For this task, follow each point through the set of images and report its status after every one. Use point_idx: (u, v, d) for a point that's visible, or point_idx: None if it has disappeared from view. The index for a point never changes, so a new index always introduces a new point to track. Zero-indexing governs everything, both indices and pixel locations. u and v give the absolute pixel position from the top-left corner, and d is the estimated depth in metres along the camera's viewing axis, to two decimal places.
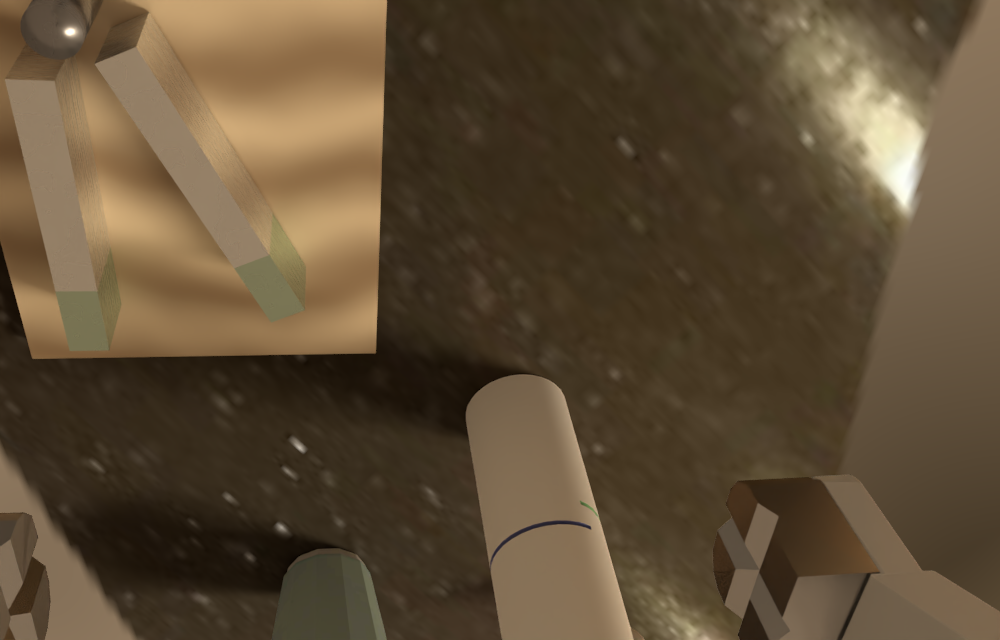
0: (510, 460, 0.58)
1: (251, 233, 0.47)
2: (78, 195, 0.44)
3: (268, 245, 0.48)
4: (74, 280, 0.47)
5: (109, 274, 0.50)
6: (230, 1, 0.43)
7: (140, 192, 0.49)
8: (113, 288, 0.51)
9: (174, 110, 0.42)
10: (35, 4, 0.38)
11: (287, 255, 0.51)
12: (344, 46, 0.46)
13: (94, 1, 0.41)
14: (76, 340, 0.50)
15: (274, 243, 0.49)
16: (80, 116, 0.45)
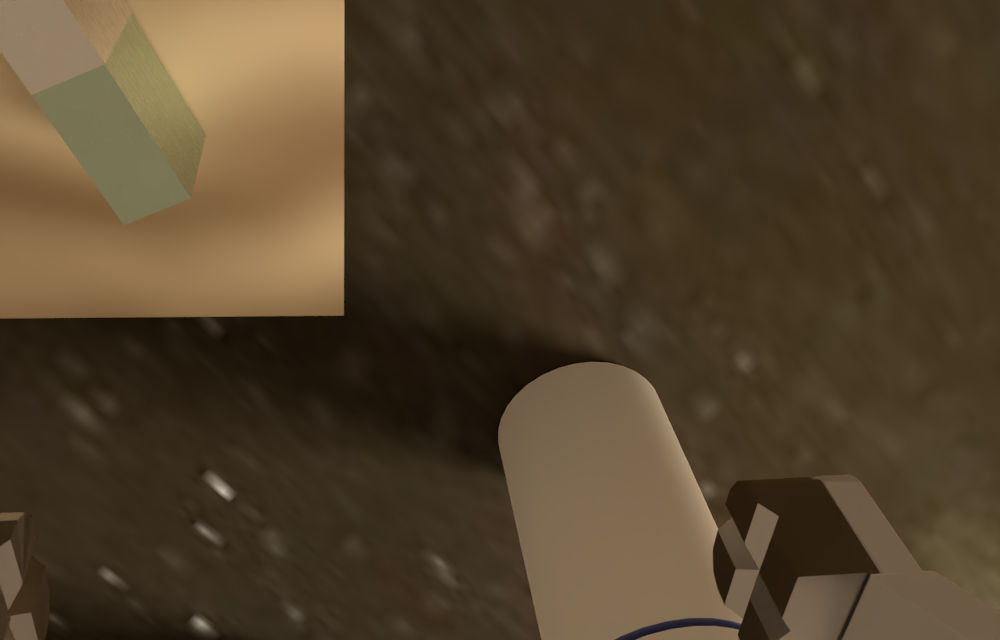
0: (586, 505, 0.32)
1: (59, 7, 0.22)
2: None
3: (105, 49, 0.23)
4: None
5: None
6: None
7: None
8: None
9: None
10: None
11: (158, 94, 0.26)
12: None
13: None
14: None
15: (124, 55, 0.24)
16: None
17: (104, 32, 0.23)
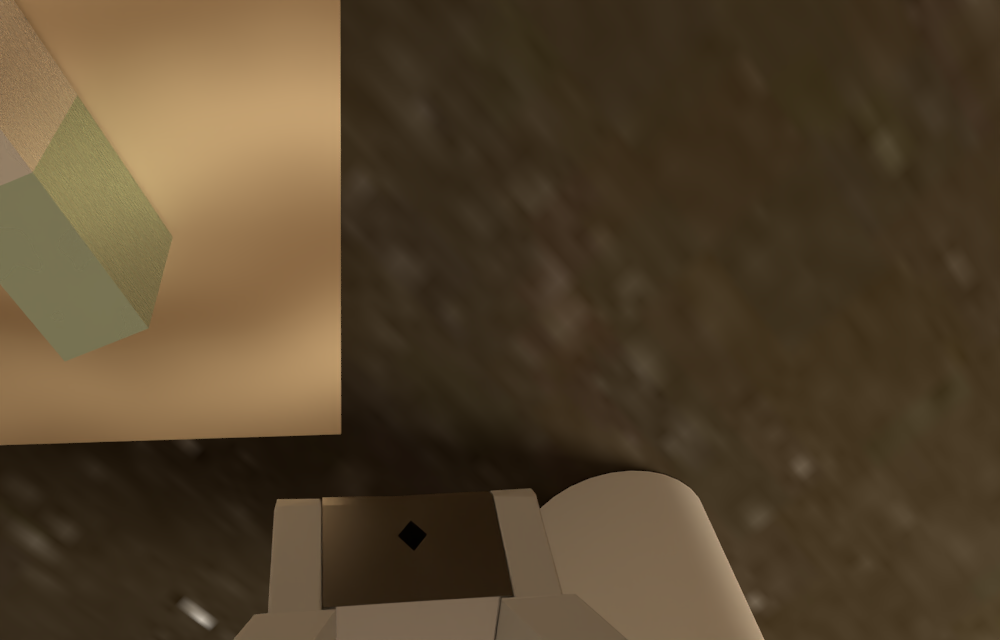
0: None
1: None
2: None
3: (35, 151, 0.18)
4: None
5: None
6: None
7: None
8: None
9: None
10: None
11: (110, 195, 0.21)
12: None
13: None
14: None
15: (62, 154, 0.19)
16: None
17: (35, 128, 0.18)
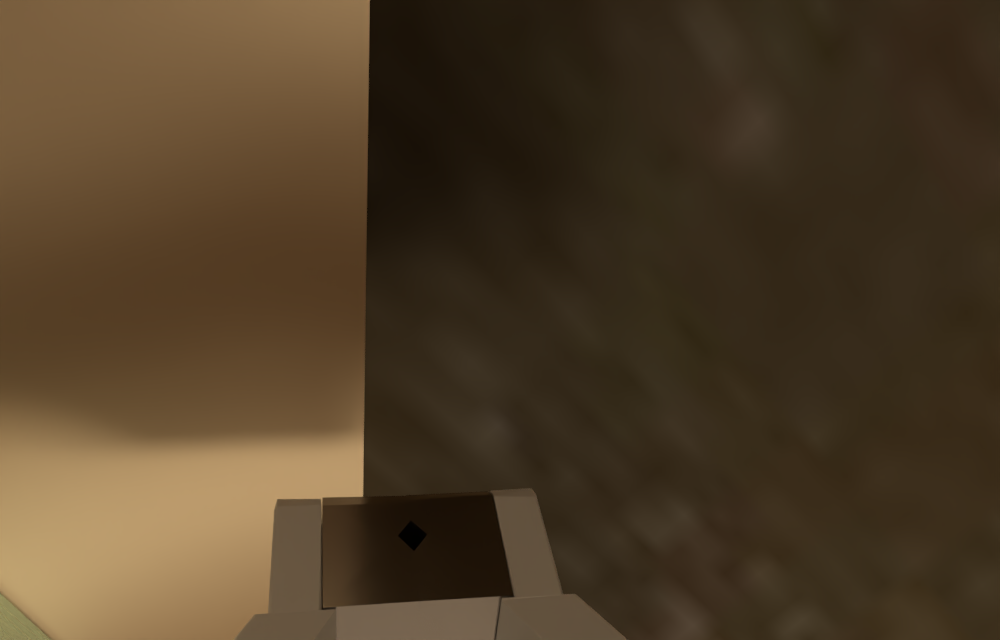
0: None
1: None
2: None
3: None
4: None
5: None
6: None
7: None
8: None
9: None
10: None
11: None
12: None
13: None
14: None
15: None
16: None
17: None
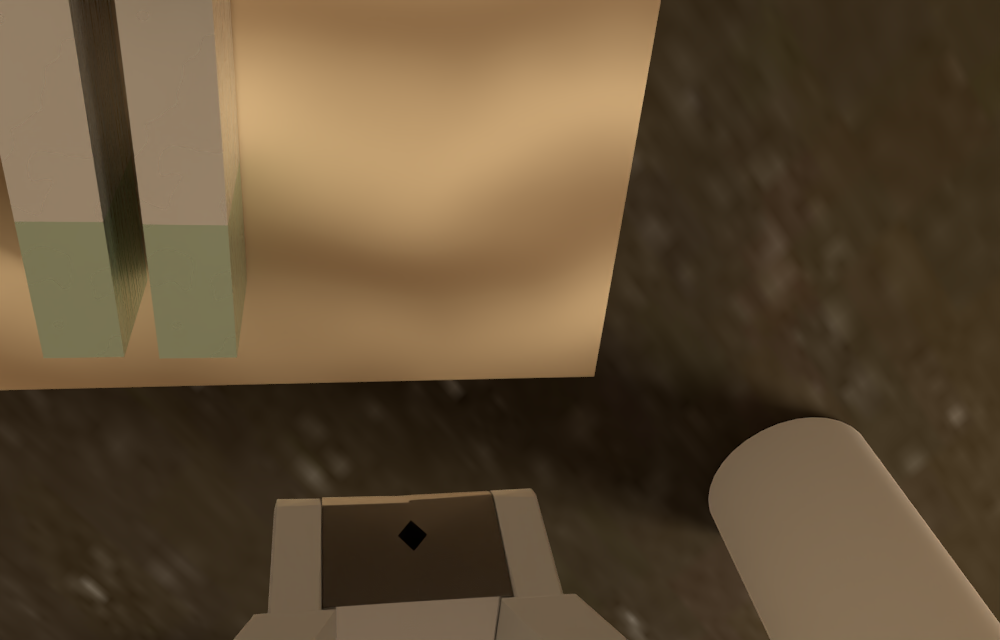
0: (848, 567, 0.32)
1: (216, 167, 0.22)
2: None
3: (229, 207, 0.24)
4: (55, 195, 0.22)
5: (127, 206, 0.25)
6: None
7: None
8: (134, 240, 0.26)
9: None
10: None
11: (238, 245, 0.26)
12: None
13: None
14: (57, 334, 0.24)
15: (233, 210, 0.25)
16: None
17: (230, 189, 0.24)
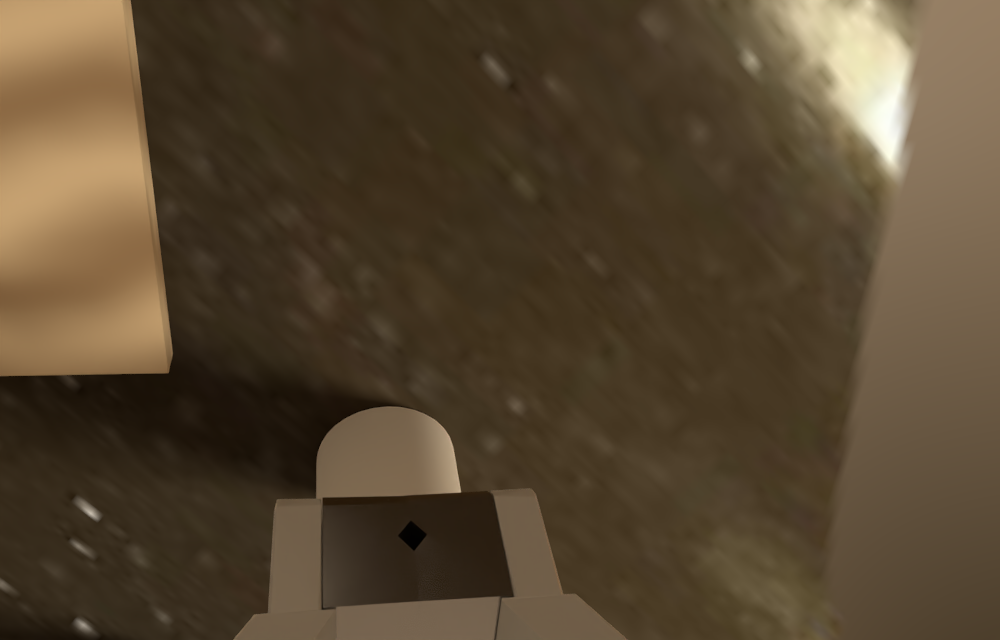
0: None
1: None
2: None
3: None
4: None
5: None
6: None
7: None
8: None
9: None
10: None
11: None
12: None
13: None
14: None
15: None
16: None
17: None
